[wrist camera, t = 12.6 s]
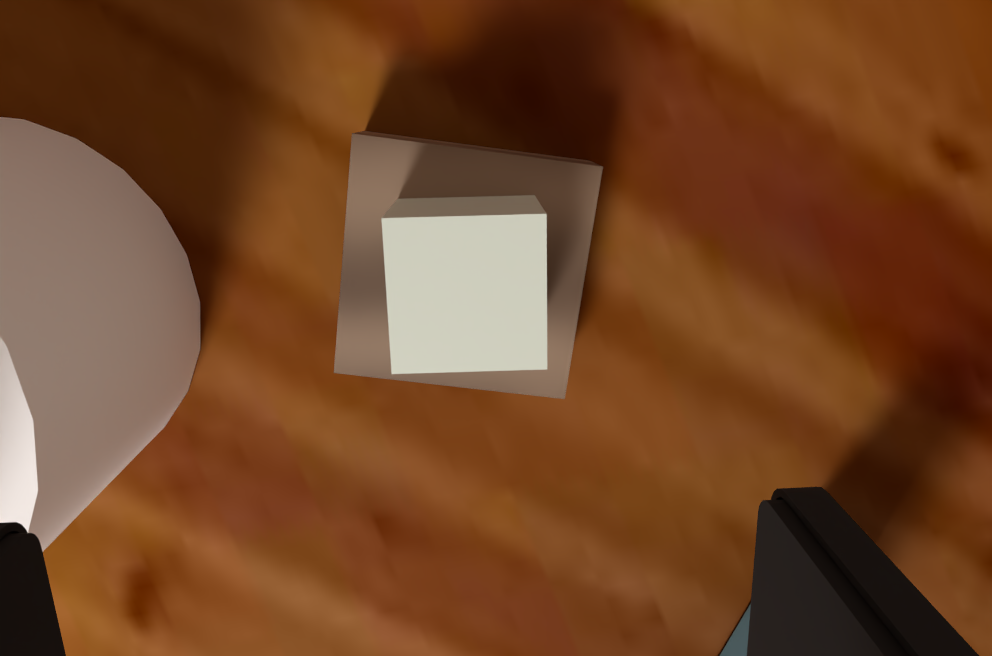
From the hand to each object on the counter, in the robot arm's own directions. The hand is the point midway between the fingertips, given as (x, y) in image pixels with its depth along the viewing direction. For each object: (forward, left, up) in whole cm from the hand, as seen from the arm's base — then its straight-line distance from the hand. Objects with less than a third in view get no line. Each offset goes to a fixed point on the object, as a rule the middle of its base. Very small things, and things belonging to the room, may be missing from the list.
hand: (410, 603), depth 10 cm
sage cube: (0, +1, -22) cm, 22 cm away
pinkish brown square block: (0, 0, -26) cm, 26 cm away
